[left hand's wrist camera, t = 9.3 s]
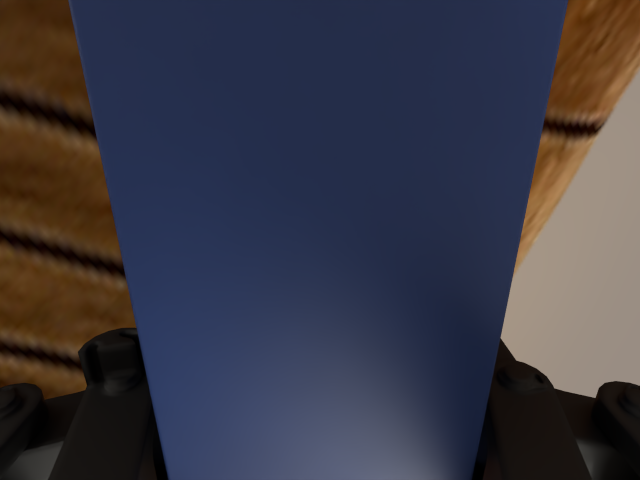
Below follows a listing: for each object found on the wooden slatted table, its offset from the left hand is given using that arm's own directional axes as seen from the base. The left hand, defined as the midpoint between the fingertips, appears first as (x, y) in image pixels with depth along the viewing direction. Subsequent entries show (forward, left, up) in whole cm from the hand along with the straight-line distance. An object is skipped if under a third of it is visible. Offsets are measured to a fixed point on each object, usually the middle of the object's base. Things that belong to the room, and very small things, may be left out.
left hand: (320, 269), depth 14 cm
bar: (-3, +9, -1) cm, 10 cm away
